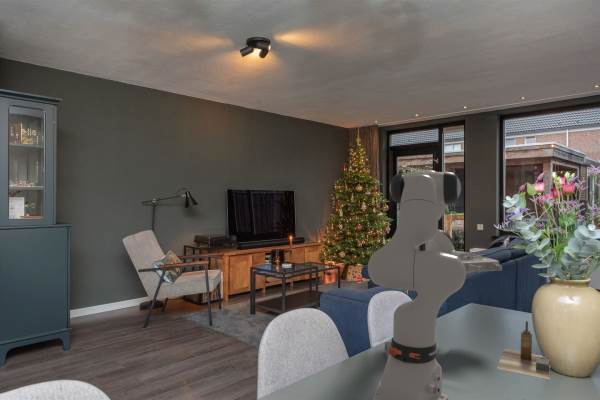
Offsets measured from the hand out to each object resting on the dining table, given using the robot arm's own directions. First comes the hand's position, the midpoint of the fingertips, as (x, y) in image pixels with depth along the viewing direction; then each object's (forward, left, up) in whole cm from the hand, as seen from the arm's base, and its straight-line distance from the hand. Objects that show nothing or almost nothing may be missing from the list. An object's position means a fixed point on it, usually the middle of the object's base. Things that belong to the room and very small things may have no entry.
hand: (490, 268), depth 149 cm
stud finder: (-11, -17, -28) cm, 34 cm away
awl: (-5, -12, -28) cm, 30 cm away
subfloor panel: (-10, -12, -29) cm, 32 cm away
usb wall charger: (-24, +26, -29) cm, 46 cm away
